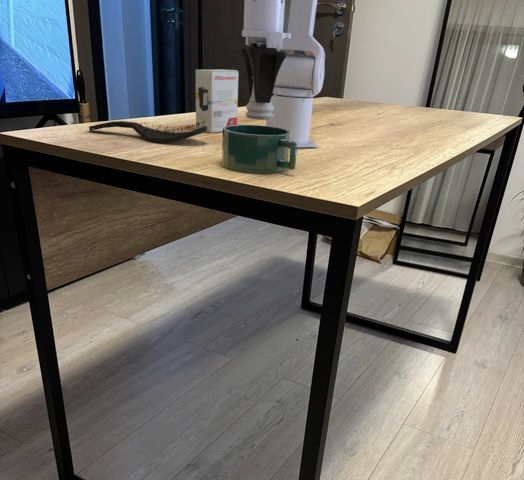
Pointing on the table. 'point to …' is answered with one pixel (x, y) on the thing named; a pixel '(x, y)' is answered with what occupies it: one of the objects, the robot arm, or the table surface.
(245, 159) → the green coffee mug
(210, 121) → the ink box
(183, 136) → the hairbrush
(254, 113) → the rook chess piece
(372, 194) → the table surface
